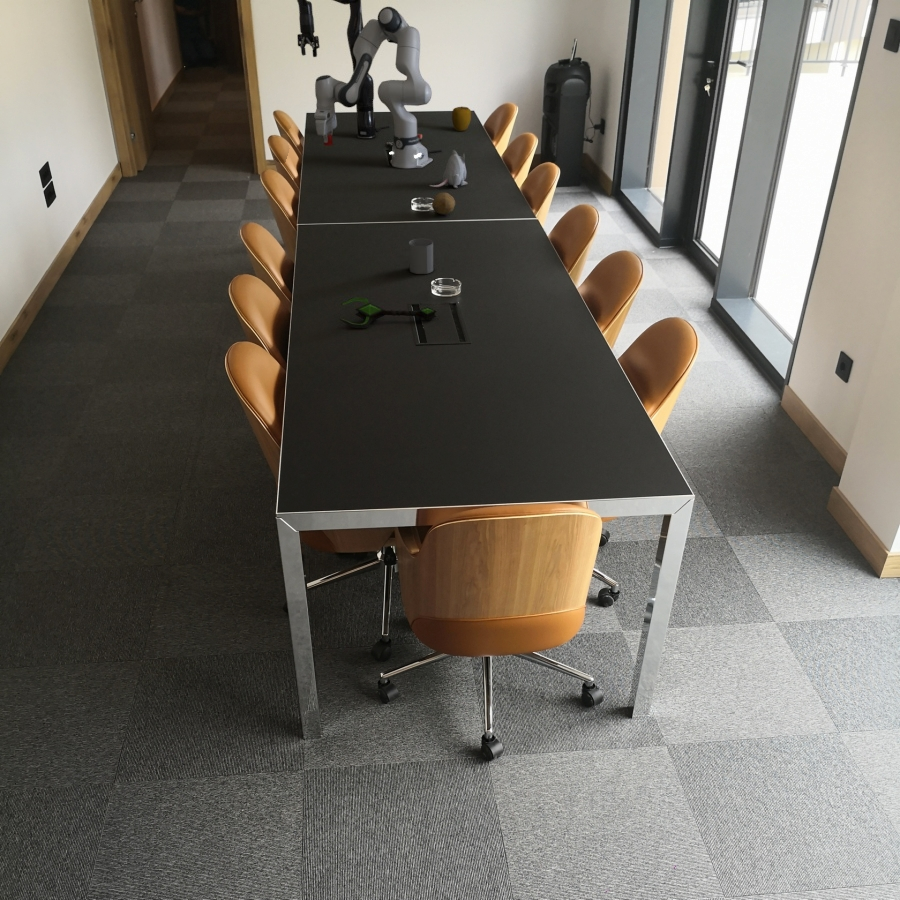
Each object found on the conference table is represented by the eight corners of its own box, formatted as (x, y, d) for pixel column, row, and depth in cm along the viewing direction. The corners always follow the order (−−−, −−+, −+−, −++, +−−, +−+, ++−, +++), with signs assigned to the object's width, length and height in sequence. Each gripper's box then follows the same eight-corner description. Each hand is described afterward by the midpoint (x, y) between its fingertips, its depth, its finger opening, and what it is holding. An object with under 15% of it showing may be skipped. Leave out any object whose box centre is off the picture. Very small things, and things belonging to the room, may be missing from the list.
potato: (453, 208, 369) (453, 189, 365) (456, 218, 357) (456, 199, 353) (431, 208, 368) (430, 189, 364) (432, 218, 356) (432, 199, 352)
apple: (471, 132, 486) (471, 108, 479) (451, 132, 486) (451, 108, 479) (470, 128, 495) (471, 104, 488) (452, 128, 495) (452, 104, 488)
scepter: (436, 292, 272) (340, 290, 270) (437, 322, 265) (338, 320, 263) (435, 305, 277) (341, 303, 275) (436, 335, 270) (339, 333, 268)
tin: (326, 146, 428) (325, 136, 426) (322, 144, 431) (322, 134, 429) (333, 144, 430) (333, 135, 427) (330, 143, 433) (329, 133, 430)
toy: (472, 184, 399) (472, 151, 391) (436, 195, 384) (436, 161, 376) (457, 180, 404) (458, 147, 396) (422, 191, 389) (421, 157, 381)
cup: (409, 265, 311) (408, 238, 306) (432, 265, 312) (431, 238, 307) (410, 274, 304) (409, 246, 299) (433, 273, 305) (433, 246, 299)
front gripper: (326, 107, 431) (328, 136, 439) (312, 115, 414) (315, 145, 422) (338, 107, 430) (340, 136, 437) (325, 116, 413) (327, 146, 421)
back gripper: (292, 22, 464) (295, 55, 473) (311, 24, 457) (313, 58, 465) (302, 21, 469) (305, 54, 478) (321, 23, 462) (323, 56, 470)
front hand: (328, 141), depth 429 cm, fingers closed on tin, 4 cm apart
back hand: (309, 56), depth 472 cm, fingers open, 8 cm apart
